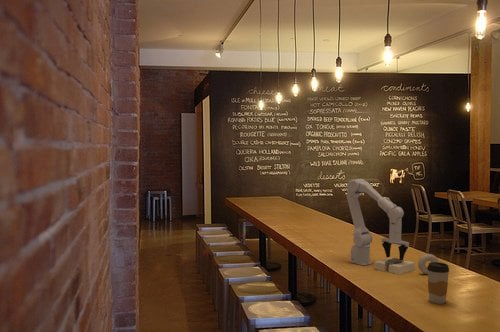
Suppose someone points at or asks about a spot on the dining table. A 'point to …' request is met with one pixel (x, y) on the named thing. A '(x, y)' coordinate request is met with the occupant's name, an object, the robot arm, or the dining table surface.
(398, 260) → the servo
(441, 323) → the dining table surface
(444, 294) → the coffee cup
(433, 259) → the donut
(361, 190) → the robot arm
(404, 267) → the chassis
